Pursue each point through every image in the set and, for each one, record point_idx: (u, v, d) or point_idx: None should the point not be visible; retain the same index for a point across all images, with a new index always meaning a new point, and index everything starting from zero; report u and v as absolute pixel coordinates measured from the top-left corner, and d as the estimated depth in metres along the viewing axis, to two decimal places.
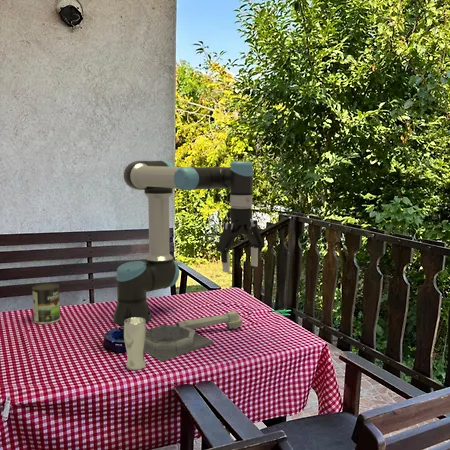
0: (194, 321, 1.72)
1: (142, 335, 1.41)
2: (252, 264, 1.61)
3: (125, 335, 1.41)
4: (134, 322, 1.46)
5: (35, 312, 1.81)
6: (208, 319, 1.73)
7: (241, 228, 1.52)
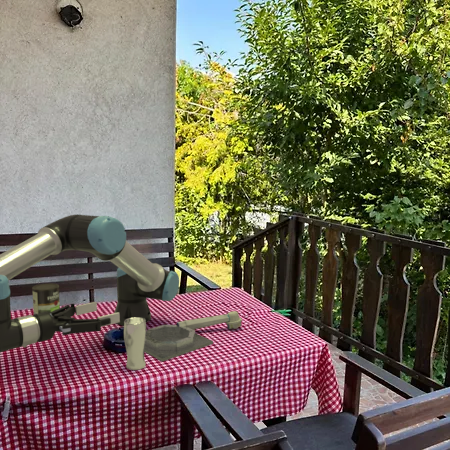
0: (194, 321, 1.72)
1: (142, 335, 1.41)
2: None
3: (125, 335, 1.41)
4: (134, 322, 1.46)
5: (35, 312, 1.81)
6: (208, 319, 1.73)
7: None
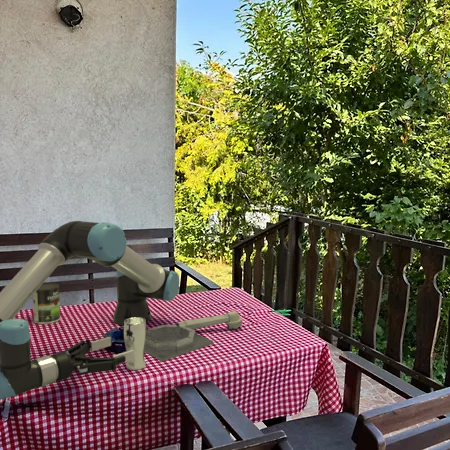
0: (194, 321, 1.72)
1: (142, 335, 1.41)
2: None
3: (125, 335, 1.41)
4: (134, 322, 1.46)
5: (35, 312, 1.81)
6: (208, 319, 1.73)
7: None
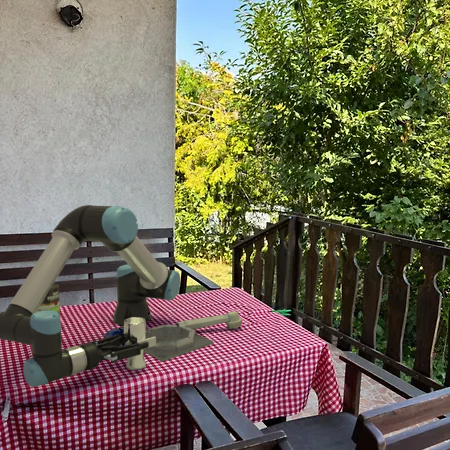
0: (194, 321, 1.72)
1: (142, 335, 1.41)
2: None
3: (125, 335, 1.41)
4: (134, 322, 1.46)
5: None
6: (208, 319, 1.73)
7: None
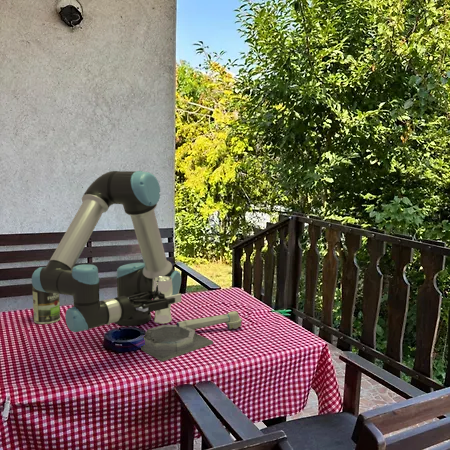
0: (194, 321, 1.72)
1: (169, 291, 1.54)
2: None
3: (153, 291, 1.54)
4: (161, 281, 1.59)
5: (35, 312, 1.81)
6: (208, 319, 1.73)
7: None
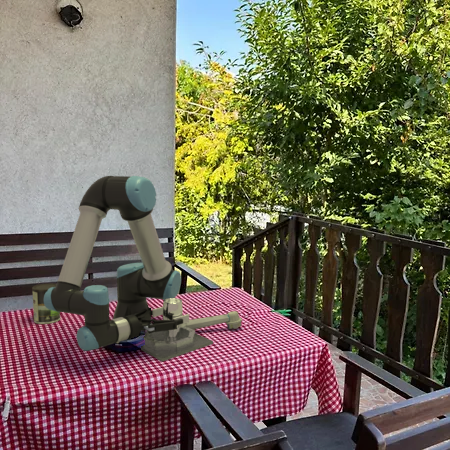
0: (194, 321, 1.72)
1: (179, 313, 1.58)
2: None
3: (164, 313, 1.58)
4: (171, 302, 1.63)
5: (35, 312, 1.81)
6: (208, 319, 1.73)
7: None
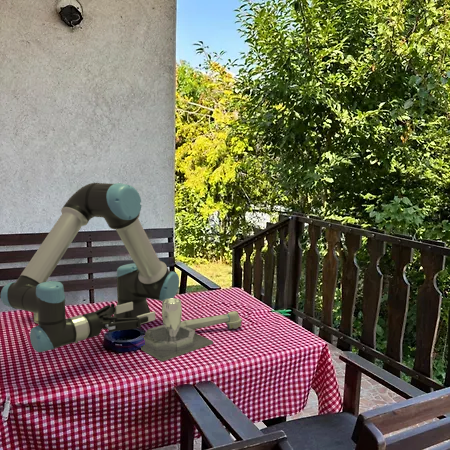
0: (194, 321, 1.72)
1: (178, 313, 1.58)
2: None
3: (163, 313, 1.58)
4: (170, 302, 1.63)
5: None
6: (208, 319, 1.73)
7: None
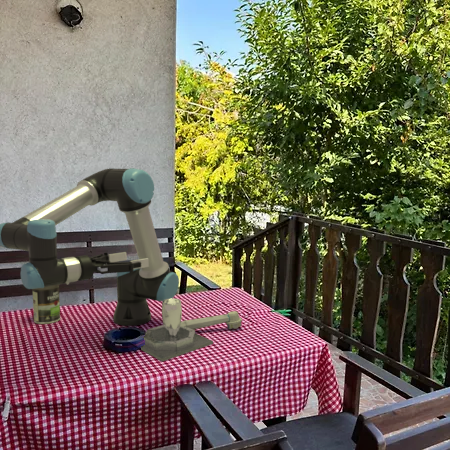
0: (194, 321, 1.72)
1: (178, 314, 1.58)
2: None
3: (163, 314, 1.58)
4: (170, 303, 1.62)
5: (35, 312, 1.81)
6: (208, 319, 1.73)
7: None
